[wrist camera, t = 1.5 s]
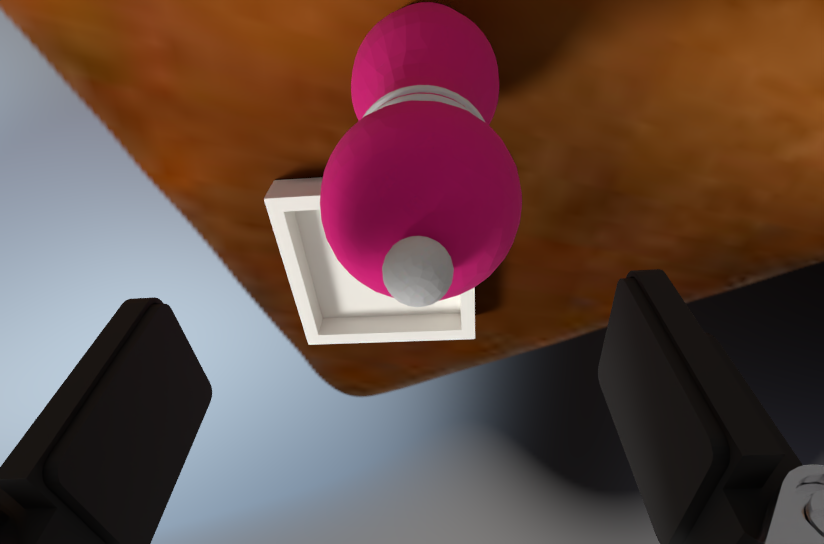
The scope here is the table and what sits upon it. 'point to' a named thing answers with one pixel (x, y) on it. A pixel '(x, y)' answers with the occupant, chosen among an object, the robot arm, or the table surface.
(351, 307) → the ceramic dish
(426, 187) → the pepper mill
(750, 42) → the table surface
